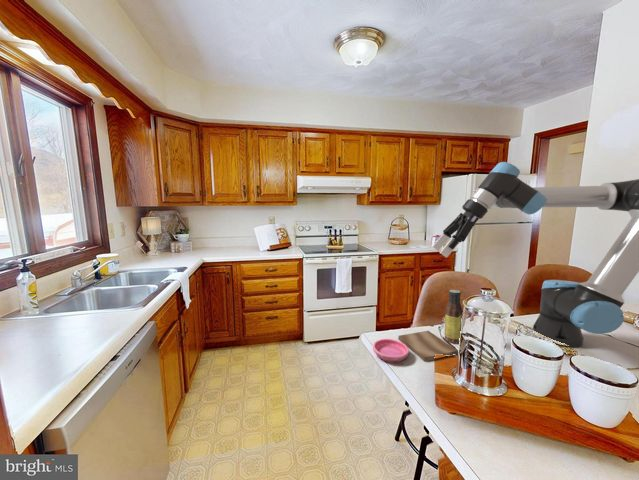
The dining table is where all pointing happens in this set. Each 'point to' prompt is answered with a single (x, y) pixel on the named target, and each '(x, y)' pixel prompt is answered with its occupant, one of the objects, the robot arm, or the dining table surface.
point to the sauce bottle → (453, 317)
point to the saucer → (390, 350)
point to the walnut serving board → (426, 345)
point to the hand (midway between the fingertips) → (438, 252)
